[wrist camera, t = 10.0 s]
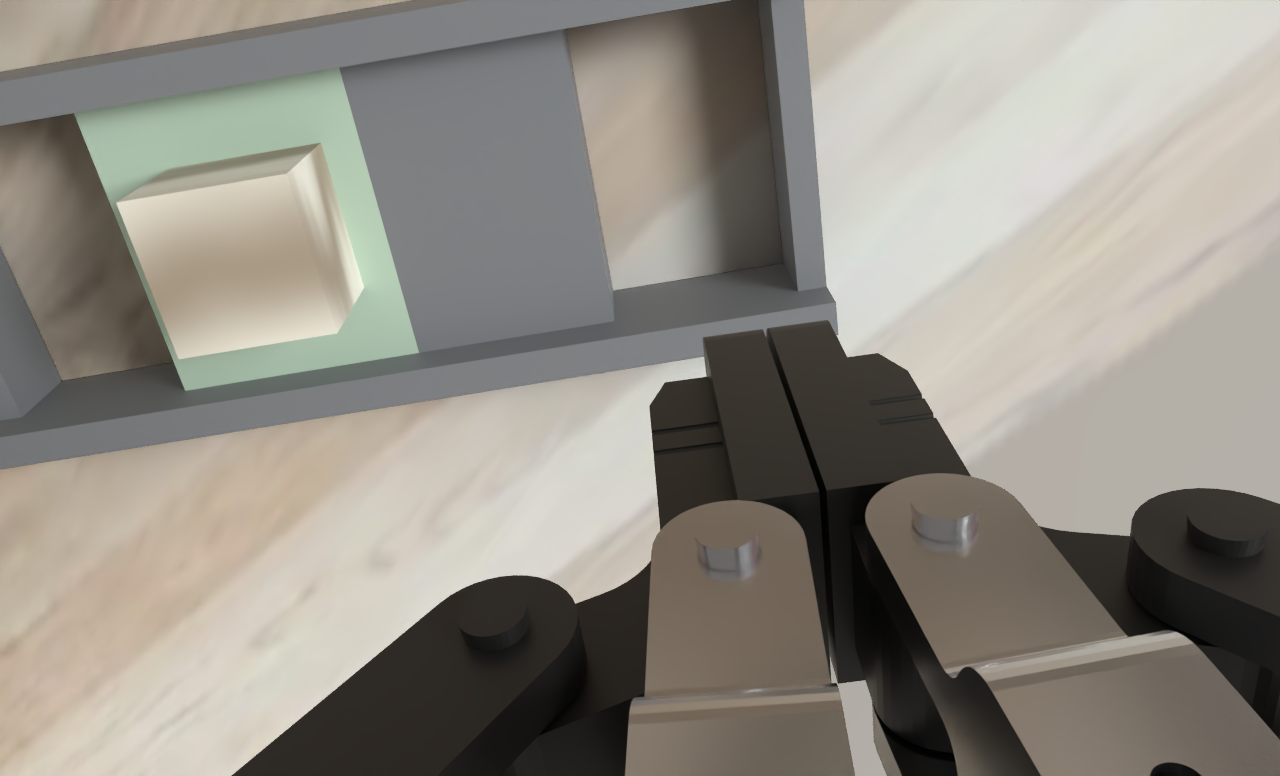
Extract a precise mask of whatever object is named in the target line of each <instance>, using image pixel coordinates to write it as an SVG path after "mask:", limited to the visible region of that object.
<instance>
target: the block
mask: <svg viewBox="0 0 1280 776" xmlns="http://www.w3.org/2000/svg"><path fill="white" fill-rule="evenodd" d="M116 204H117V206H118V209H119V211H120V214H121V216H122V219H123V221H124V224H125V226H126V229H127V231H128V234H129V236H130V239H131V241H132V244H133V246H134V249H135V251H136V254H137V256H138V259H139V261H140V264H141V266H142V269H143V271H144V274H145V276H146V279H147V281H148V284H149V286H150V289H151V291H152V294H153V296H154V299H155V301H156V304H157V306H158V309H159V311H160V314H161V316H162V319H163V321H164V324H165V326H166V329H167V331H168V334H169V336H170V339H171V341H172V344H173V346H174V349H175V351H176V354H177V356H178V359H184V358H190V357H196V356H202V355H208V354H215V353H221V352H227V351H233V350H239V349H245V348H251V347H257V346H263V345H269V344H276V343H282V342H288V341H294V340H300V339H306V338H312V337H318V336H324V335H331V334H337V333H338V331H339V330H340V328H341V326H342V325H343V323H344V321H345V319H346V318H347V316H348V314H349V313H350V311H351V309H352V308H353V306H354V304H355V302H356V301H357V299H358V297H359V296H360V294H361V292H362V290H363V289H364V286H363V282H362V279H361V276H360V272H359V269H358V265H357V262H356V259H355V255H354V252H353V249H352V245H351V242H350V239H349V235H348V232H347V229H346V225H345V222H344V219H343V215H342V212H341V209H340V205H339V202H338V198H337V195H336V192H335V188H334V185H333V182H332V178H331V175H330V172H329V168H328V165H327V162H326V158H325V155H324V152H323V148H322V145H321V143H316V144H310V145H304V146H299V147H293V148H287V149H281V150H275V151H269V152H263V153H257V154H252V155H246V156H240V157H234V158H228V159H222V160H216V161H210V162H205V163H199V164H193V165H187V166H181V167H175V168H169V169H168V170H166V171H164V172H163V173H161V174H160V175H158V176H157V177H155V178H154V179H152V180H150V181H149V182H147V183H146V184H144V185H143V186H141V187H140V188H138V189H136V190H135V191H133V192H132V193H130V194H129V195H127V196H126V197H124V198H122V199H121V200H119V201H118V202H116Z"/></svg>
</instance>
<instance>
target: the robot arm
mask: <svg viewBox="0 0 1280 776" xmlns="http://www.w3.org/2000/svg"><path fill="white" fill-rule="evenodd" d="M703 349H704V358H705V366H706V375H707V377H703V378H695V379H688V380H681V381H673V382H666V383H664V385H663V387H662V388H661V390H660V391H659V393H658V394H657V396H656V397H655V399H654V400H653V402H652V403H651V405H650V417H651V428H652V440H653V451H654V462H655V473H656V485H657V496H658V507H659V518H660V532H659V533H658V534H657V536H656V538H655V540H654V542H653V546H652V553H651V561H650V562H649V564H648V565H647V566H646V567H645V568H644V569H643V570H642V571H641V572H640V573H639V574H638V575H636V576H635V577H633V578H632V579H631V580H629V581H628V582H626V583H624V584H623V585H621V586H619V587H617V588H615V589H613V590H611V591H608V592H606V593H604V594H601V595H598V596H596V597H593V598H590V599H588V600H585V601H582V602H579V603H577V604H575V603H574V600H573V598H572V597H571V596H570V595H569V593H568V592H567V591H566V590H564V589H563V588H562V587H560V586H559V585H557V584H555V583H553V582H551V581H549V580H546V579H542V578H539V577H532V576H515V575H514V576H503V577H497V578H492V579H488V580H484V581H481V582H478V583H475V584H473V585H470V586H468V587H466V588H463V589H461V590H459V591H458V592H456V593H454V594H452V595H451V596H449V597H448V598H446V599H445V600H444V601H442V602H441V603H440V604H438V605H437V606H436V607H435V608H434V609H432V610H431V611H430V612H429V613H428V614H426V615H425V616H424V617H423V618H421V619H420V620H419V621H418V622H417V623H415V624H414V625H413V626H412V627H411V628H409V629H408V630H407V631H406V632H405V633H403V634H402V635H401V636H400V637H399V638H397V639H396V640H395V641H394V642H393V643H391V644H390V645H389V646H388V647H386V648H385V649H384V650H383V651H382V652H380V653H379V654H378V655H377V656H376V657H374V658H373V659H372V660H371V661H370V662H368V663H367V664H366V665H365V666H364V667H362V668H361V669H360V670H359V671H357V672H356V673H355V674H354V675H353V676H351V677H350V678H349V679H348V680H347V681H345V682H344V683H343V684H342V685H341V686H339V687H338V688H337V689H336V690H335V691H333V692H332V693H331V694H330V695H328V696H327V697H326V698H325V699H324V700H322V701H321V702H320V703H319V704H318V705H316V706H315V707H314V708H313V709H312V710H310V711H309V712H308V713H307V714H306V715H304V716H303V717H302V718H301V719H300V720H298V721H297V722H296V723H295V724H293V725H292V726H291V727H290V728H289V729H287V730H286V731H285V732H284V733H283V734H281V735H280V736H279V737H278V738H277V739H275V740H274V741H273V742H272V743H271V744H269V745H268V746H267V747H266V748H264V749H263V750H262V751H261V752H260V753H258V754H257V755H256V756H255V757H254V758H252V759H251V760H250V761H249V762H248V763H246V764H245V765H244V766H243V767H242V768H240V769H239V770H238V771H237V772H236V773H234V774H233V775H232V776H855V773H854V767H853V762H852V756H851V751H850V745H849V740H848V734H847V729H846V724H845V718H844V712H843V707H842V702H841V697H840V693H839V689H838V686H837V684H836V683H831V671H830V657H831V661H832V664H833V668H834V671H835V674H836V678H837V682H838V683H846V682H854V681H861V680H866V683H867V686H868V689H869V692H870V695H871V698H872V707H873V732H874V743H875V746H876V750H877V752H878V755H879V757H880V760H881V762H882V765H883V767H884V769H885V772H886V774H887V776H1280V504H1278V503H1274V502H1272V501H1269V500H1266V499H1263V498H1259V497H1256V496H1253V495H1249V494H1245V493H1240V492H1235V491H1230V490H1221V489H1206V488H1196V489H1183V490H1177V491H1171V492H1168V493H1164V494H1161V495H1158V496H1156V497H1154V498H1151V499H1149V500H1148V501H1147V502H1145V503H1144V504H1143V505H1141V506H1140V507H1139V508H1138V510H1137V511H1136V512H1135V514H1134V516H1133V519H1132V524H1131V533H1130V536H1120V535H1105V534H1091V533H1077V532H1068V531H1059V530H1054V529H1049V528H1044V527H1040V526H1038V524H1037V523H1036V522H1035V521H1034V519H1033V518H1032V517H1031V516H1030V514H1029V513H1028V512H1027V511H1026V509H1025V508H1024V507H1023V506H1022V504H1021V503H1020V502H1019V501H1018V500H1017V499H1016V498H1015V497H1014V496H1013V495H1012V494H1010V493H1009V492H1007V491H1006V490H1005V489H1003V488H1001V487H999V486H997V485H995V484H993V483H990V482H987V481H985V480H982V479H979V478H974V477H971V476H970V474H969V472H968V470H967V469H966V467H965V465H964V464H963V462H962V460H961V459H960V457H959V455H958V454H957V452H956V450H955V449H954V447H953V445H952V444H951V442H950V440H949V439H948V437H947V436H946V434H945V432H944V431H943V429H942V427H941V426H940V424H939V422H938V421H937V419H936V418H934V417H933V412H932V411H931V409H930V407H929V406H928V404H927V402H926V401H925V399H922V394H921V392H920V391H919V389H918V387H917V386H916V384H915V382H914V381H913V379H912V377H911V376H910V374H909V372H908V371H907V370H905V369H904V368H902V367H900V366H899V365H897V364H895V363H894V362H892V361H890V360H888V359H887V358H885V357H883V356H882V355H880V354H878V353H876V354H869V355H862V356H855V357H847V356H846V354H845V352H844V350H843V348H842V346H841V344H840V342H839V340H838V338H837V336H836V334H835V332H834V330H833V328H832V326H831V324H830V322H829V321H828V320H823V321H816V322H809V323H801V324H794V325H787V326H780V327H772V328H767V330H766V336H765V333H764V331H763V329H759V330H752V331H745V332H738V333H730V334H723V335H716V336H709V337H703ZM829 654H830V655H829Z"/></svg>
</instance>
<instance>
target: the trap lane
mask: <svg viewBox="0 0 1280 776" xmlns="http://www.w3.org/2000/svg"><path fill="white" fill-rule="evenodd" d="M723 1H729V0H412V1H406V2H400V3H395V4H389V5H383V6H377V7H372V8H366V9H360V10H354V11H349V12H343V13H337V14H331V15H325V16H320V17H314V18H308V19H302V20H297V21H291V22H285V23H279V24H274V25H268V26H262V27H256V28H251V29H245V30H239V31H233V32H228V33H222V34H216V35H210V36H205V37H199V38H193V39H187V40H182V41H176V42H170V43H164V44H159V45H153V46H147V47H141V48H135V49H130V50H124V51H118V52H112V53H107V54H101V55H95V56H89V57H84V58H78V59H72V60H66V61H61V62H55V63H49V64H43V65H38V66H32V67H26V68H20V69H15V70H9V71H3V72H0V126H2V125H8V124H14V123H20V122H25V121H31V120H37V119H43V118H49V117H55V116H60V115H66V114H72V113H74V115H75V118H76V120H77V123H78V125H79V128H80V130H81V133H82V135H83V138H84V140H85V143H86V145H87V148H88V150H89V153H90V155H91V158H92V160H93V163H94V165H95V168H96V170H97V172H98V175H99V177H100V180H101V182H102V185H103V187H104V190H105V192H106V195H107V197H108V200H109V202H110V205H111V207H112V210H113V212H114V215H115V217H116V220H117V222H118V225H119V227H120V230H121V232H122V235H123V237H124V240H125V242H126V245H127V247H128V250H129V252H130V255H131V257H132V260H133V262H134V265H135V267H136V270H137V272H138V274H139V277H140V279H141V282H142V284H143V287H144V289H145V292H146V294H147V297H148V299H149V302H150V304H151V307H152V309H153V312H154V314H155V317H156V319H157V322H158V324H159V327H160V329H161V332H162V334H163V337H164V339H165V342H166V344H167V347H168V349H169V352H170V354H171V357H172V359H173V362H174V363H169V364H163V365H157V366H151V367H144V368H138V369H132V370H126V371H120V372H114V373H108V374H102V375H95V376H89V377H83V378H77V379H71V380H65V381H62V380H61V378H60V375H59V373H58V371H57V369H56V367H55V365H54V362H53V360H52V358H51V356H50V354H49V352H48V349H47V347H46V345H45V343H44V341H43V339H42V336H41V334H40V332H39V330H38V328H37V326H36V323H35V321H34V319H33V317H32V315H31V313H30V310H29V308H28V306H27V304H26V302H25V299H24V297H23V295H22V293H21V291H20V289H19V286H18V284H17V282H16V280H15V278H14V276H13V273H12V271H11V269H10V267H9V265H8V263H7V260H6V258H5V256H4V254H3V252H2V250H1V247H0V469H6V468H13V467H19V466H25V465H31V464H37V463H44V462H50V461H56V460H62V459H69V458H75V457H81V456H87V455H93V454H100V453H106V452H112V451H118V450H125V449H131V448H137V447H143V446H149V445H156V444H162V443H168V442H174V441H181V440H187V439H193V438H199V437H205V436H212V435H218V434H224V433H230V432H237V431H243V430H249V429H255V428H261V427H268V426H274V425H280V424H286V423H293V422H299V421H305V420H311V419H318V418H324V417H330V416H336V415H342V414H349V413H355V412H361V411H367V410H374V409H380V408H386V407H392V406H398V405H405V404H411V403H417V402H423V401H430V400H436V399H442V398H448V397H454V396H461V395H467V394H473V393H479V392H486V391H492V390H498V389H504V388H510V387H517V386H523V385H529V384H535V383H542V382H548V381H554V380H560V379H567V378H573V377H579V376H585V375H591V374H598V373H604V372H610V371H616V370H623V369H629V368H635V367H641V366H647V365H654V364H660V363H666V362H672V361H679V360H685V359H691V358H697V357H703V356H704V349H703V337H709V336H716V335H723V334H730V333H738V332H745V331H752V330H759V329H763V331H764V333H765V336H766V330H767V328H772V327H780V326H787V325H794V324H801V323H809V322H816V321H823V320H828V321H829V322H830V324H831V326H832V328H833V330H834V332H835V334H836V335H838V325H837V312H836V302H835V300H834V299H833V297H832V295H831V294H830V292H829V290H828V289H827V287H826V275H825V262H824V249H823V237H822V224H821V212H820V199H819V187H818V174H817V162H816V149H815V136H814V124H813V111H812V99H811V86H810V74H809V61H808V49H807V36H806V23H805V11H804V0H758V11H759V21H760V31H761V41H762V51H763V61H764V71H765V81H766V91H767V102H768V112H769V122H770V132H771V142H772V152H773V162H774V172H775V183H776V193H777V203H778V213H779V223H780V233H781V243H782V253H783V263H782V264H775V265H769V266H763V267H757V268H751V269H745V270H739V271H733V272H726V273H720V274H714V275H708V276H702V277H696V278H690V279H684V280H677V281H671V282H665V283H659V284H653V285H647V286H641V287H635V288H628V289H622V290H616V291H613V288H612V283H611V277H610V272H609V266H608V261H607V255H606V250H605V244H604V239H603V233H602V228H601V222H600V216H599V211H598V205H597V200H596V194H595V189H594V183H593V178H592V172H591V167H590V161H589V156H588V150H587V145H586V139H585V133H584V128H583V122H582V117H581V111H580V106H579V100H578V95H577V89H576V84H575V78H574V73H573V67H572V62H571V56H570V50H569V45H568V39H567V34H566V28H572V27H578V26H584V25H590V24H595V23H601V22H607V21H613V20H619V19H625V18H630V17H636V16H642V15H648V14H654V13H659V12H665V11H671V10H677V9H683V8H689V7H694V6H700V5H706V4H712V3H718V2H723ZM316 143H321V145H322V148H323V152H324V155H325V158H326V162H327V165H328V168H329V172H330V175H331V178H332V182H333V185H334V188H335V192H336V195H337V198H338V202H339V205H340V209H341V212H342V215H343V219H344V222H345V225H346V229H347V232H348V235H349V239H350V242H351V245H352V249H353V252H354V255H355V259H356V262H357V265H358V269H359V272H360V276H361V279H362V282H363V286H364V289H363V290H362V292H361V294H360V296H359V297H358V299H357V301H356V302H355V304H354V306H353V308H352V309H351V311H350V313H349V314H348V316H347V318H346V319H345V321H344V323H343V325H342V326H341V328H340V330H339V331H338V333H337V334H331V335H324V336H318V337H312V338H306V339H300V340H294V341H288V342H282V343H276V344H269V345H263V346H257V347H251V348H245V349H239V350H233V351H227V352H221V353H215V354H208V355H202V356H196V357H190V358H184V359H178V356H177V354H176V351H175V349H174V346H173V344H172V341H171V339H170V336H169V334H168V331H167V329H166V326H165V324H164V321H163V319H162V316H161V314H160V311H159V309H158V306H157V304H156V301H155V299H154V296H153V294H152V291H151V289H150V286H149V284H148V281H147V279H146V276H145V274H144V271H143V269H142V266H141V264H140V261H139V259H138V256H137V254H136V251H135V249H134V246H133V244H132V241H131V239H130V236H129V234H128V231H127V229H126V226H125V224H124V221H123V219H122V216H121V214H120V211H119V209H118V206H117V204H116V202H118V201H119V200H121V199H122V198H124V197H126V196H127V195H129V194H130V193H132V192H133V191H135V190H136V189H138V188H140V187H141V186H143V185H144V184H146V183H147V182H149V181H150V180H152V179H154V178H155V177H157V176H158V175H160V174H161V173H163V172H164V171H166V170H168V169H169V168H175V167H181V166H187V165H193V164H199V163H205V162H210V161H216V160H222V159H228V158H234V157H240V156H246V155H252V154H257V153H263V152H269V151H275V150H281V149H287V148H293V147H299V146H304V145H310V144H316Z"/></svg>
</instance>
